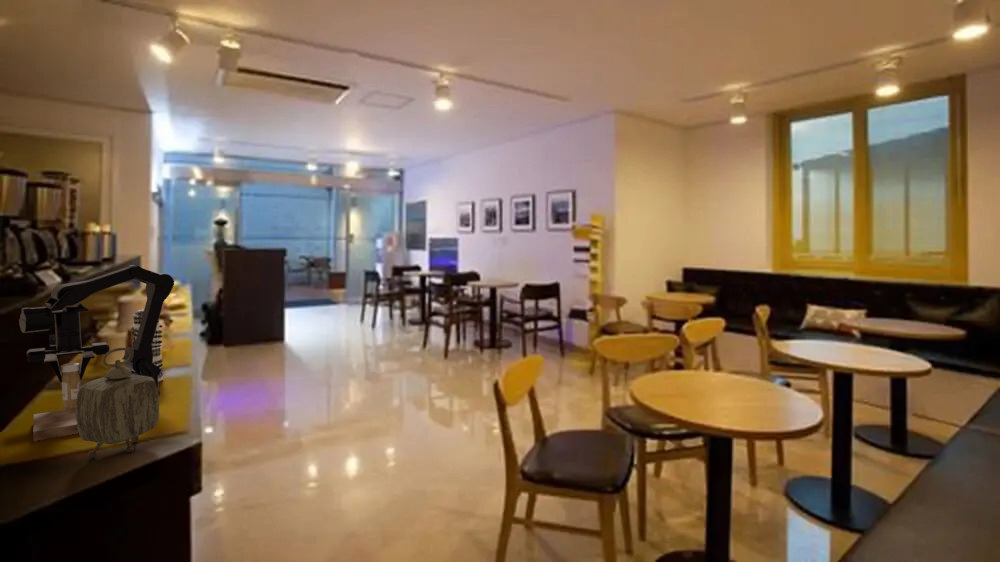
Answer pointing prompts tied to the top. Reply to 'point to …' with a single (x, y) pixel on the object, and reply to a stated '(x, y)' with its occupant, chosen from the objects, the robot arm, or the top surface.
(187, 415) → the top surface
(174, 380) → the top surface
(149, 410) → the tabletop clock
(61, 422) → the wooden board
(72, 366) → the sprinkles bottle
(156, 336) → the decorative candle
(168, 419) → the top surface
